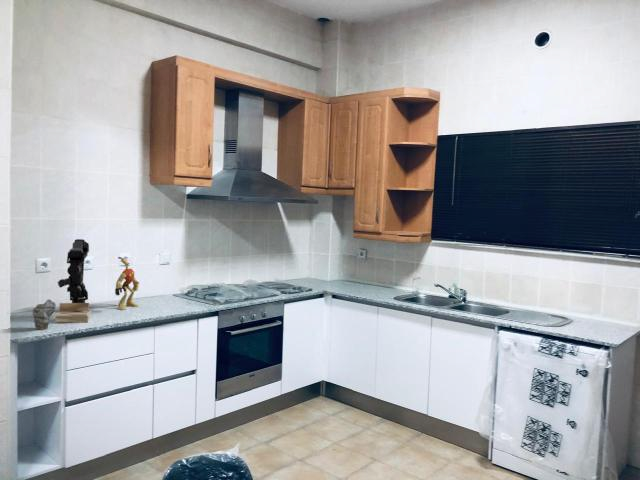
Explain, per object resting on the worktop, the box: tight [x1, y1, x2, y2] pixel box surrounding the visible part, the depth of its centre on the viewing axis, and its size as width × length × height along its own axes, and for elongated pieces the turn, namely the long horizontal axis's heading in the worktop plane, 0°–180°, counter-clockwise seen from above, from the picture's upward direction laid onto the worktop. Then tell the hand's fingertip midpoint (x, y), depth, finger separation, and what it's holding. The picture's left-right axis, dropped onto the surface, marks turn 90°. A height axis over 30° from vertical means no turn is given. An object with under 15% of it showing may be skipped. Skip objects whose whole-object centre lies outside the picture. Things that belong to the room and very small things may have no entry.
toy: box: [114, 256, 140, 311], centre depth 310 cm, size 23×9×30 cm, turn 168°
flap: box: [58, 302, 90, 312], centre depth 281 cm, size 4×14×1 cm
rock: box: [32, 299, 57, 330], centre depth 257 cm, size 13×6×15 cm, turn 52°
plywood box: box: [54, 311, 91, 324], centre depth 276 cm, size 10×15×4 cm, turn 108°
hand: (75, 302), depth 285 cm, fingers closed
